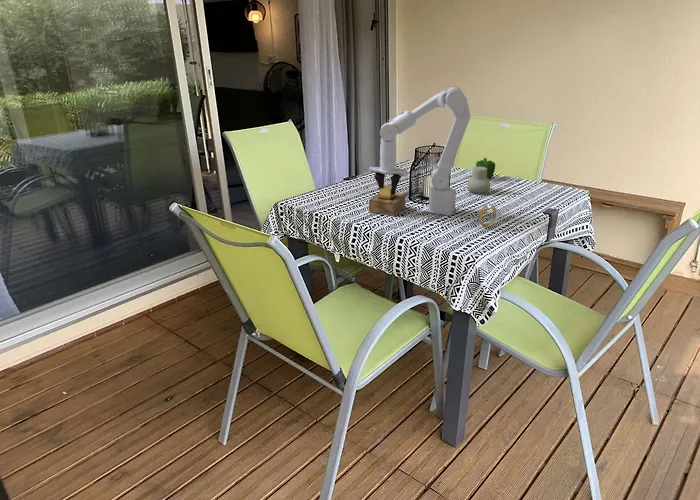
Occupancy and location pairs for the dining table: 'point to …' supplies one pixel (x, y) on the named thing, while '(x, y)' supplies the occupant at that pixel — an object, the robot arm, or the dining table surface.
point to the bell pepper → (488, 165)
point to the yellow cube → (386, 192)
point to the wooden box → (387, 204)
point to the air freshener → (479, 181)
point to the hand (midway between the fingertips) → (387, 193)
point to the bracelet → (485, 211)
